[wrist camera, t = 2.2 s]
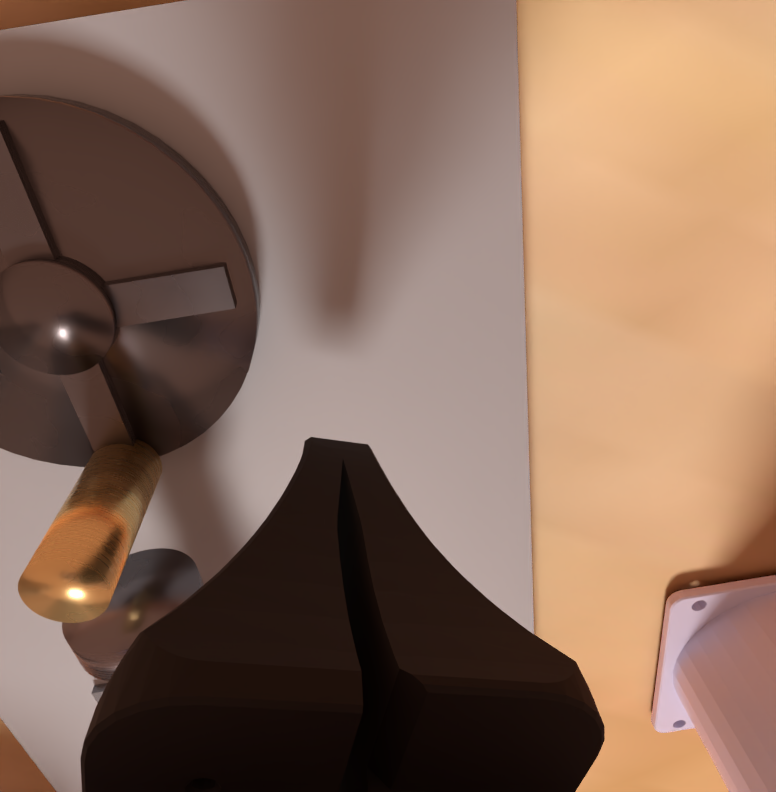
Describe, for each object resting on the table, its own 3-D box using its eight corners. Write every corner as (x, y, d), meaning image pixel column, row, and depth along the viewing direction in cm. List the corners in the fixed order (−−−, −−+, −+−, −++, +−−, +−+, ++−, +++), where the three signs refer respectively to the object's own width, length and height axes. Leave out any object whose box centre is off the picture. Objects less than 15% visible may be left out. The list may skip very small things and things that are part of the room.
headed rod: (209, 539, 15) (183, 641, 13) (318, 826, 22) (316, 929, 20) (89, 558, 15) (38, 664, 13) (236, 839, 22) (223, 945, 19)
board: (499, -44, 12) (514, -53, 11) (527, 696, 24) (536, 725, 23) (-398, 100, 12) (-466, 104, 11) (76, 769, 24) (64, 802, 23)
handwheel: (202, 62, 11) (127, 69, 7) (300, 446, 16) (289, 589, 12) (-222, 130, 11) (-539, 176, 7) (-6, 496, 16) (-127, 656, 12)
